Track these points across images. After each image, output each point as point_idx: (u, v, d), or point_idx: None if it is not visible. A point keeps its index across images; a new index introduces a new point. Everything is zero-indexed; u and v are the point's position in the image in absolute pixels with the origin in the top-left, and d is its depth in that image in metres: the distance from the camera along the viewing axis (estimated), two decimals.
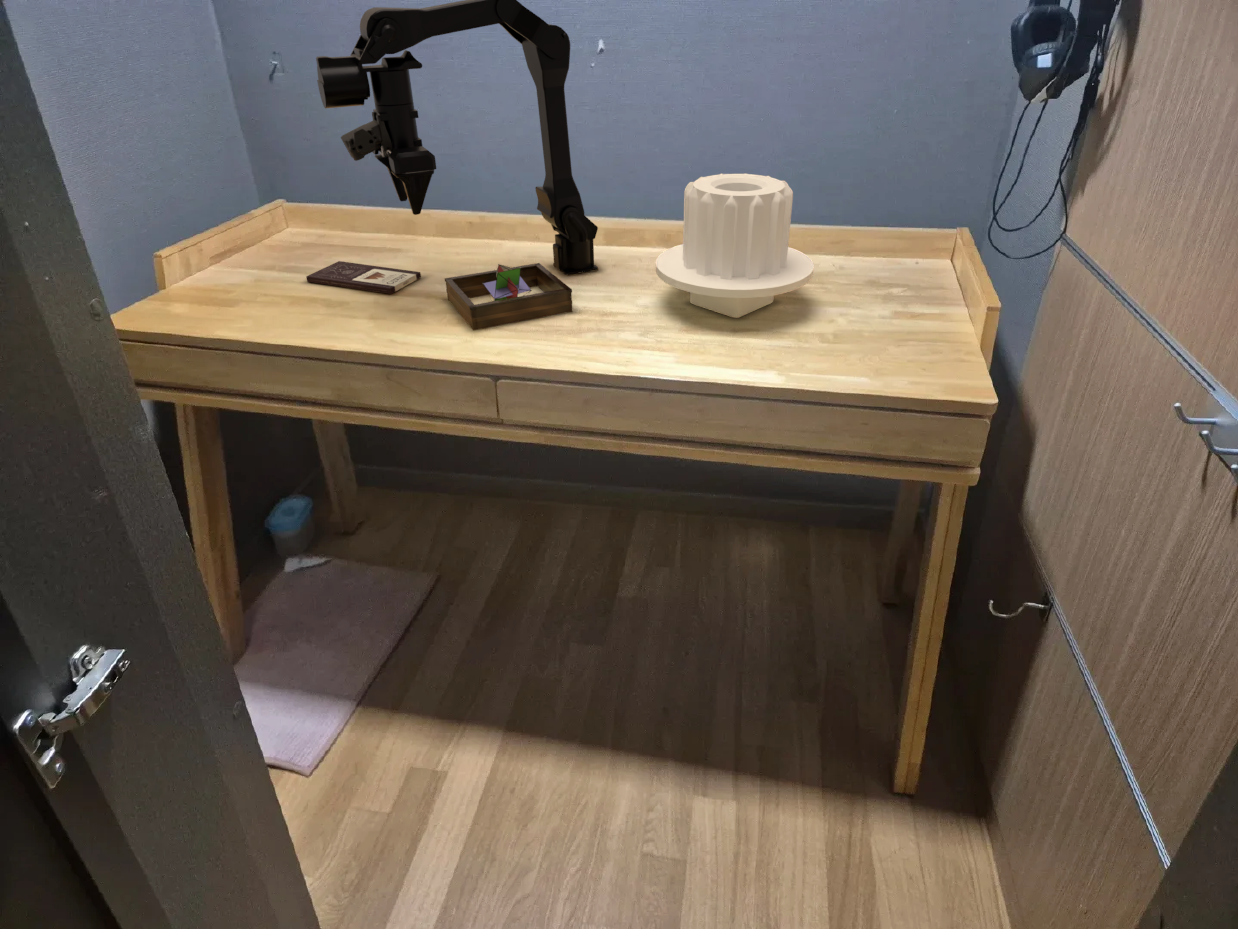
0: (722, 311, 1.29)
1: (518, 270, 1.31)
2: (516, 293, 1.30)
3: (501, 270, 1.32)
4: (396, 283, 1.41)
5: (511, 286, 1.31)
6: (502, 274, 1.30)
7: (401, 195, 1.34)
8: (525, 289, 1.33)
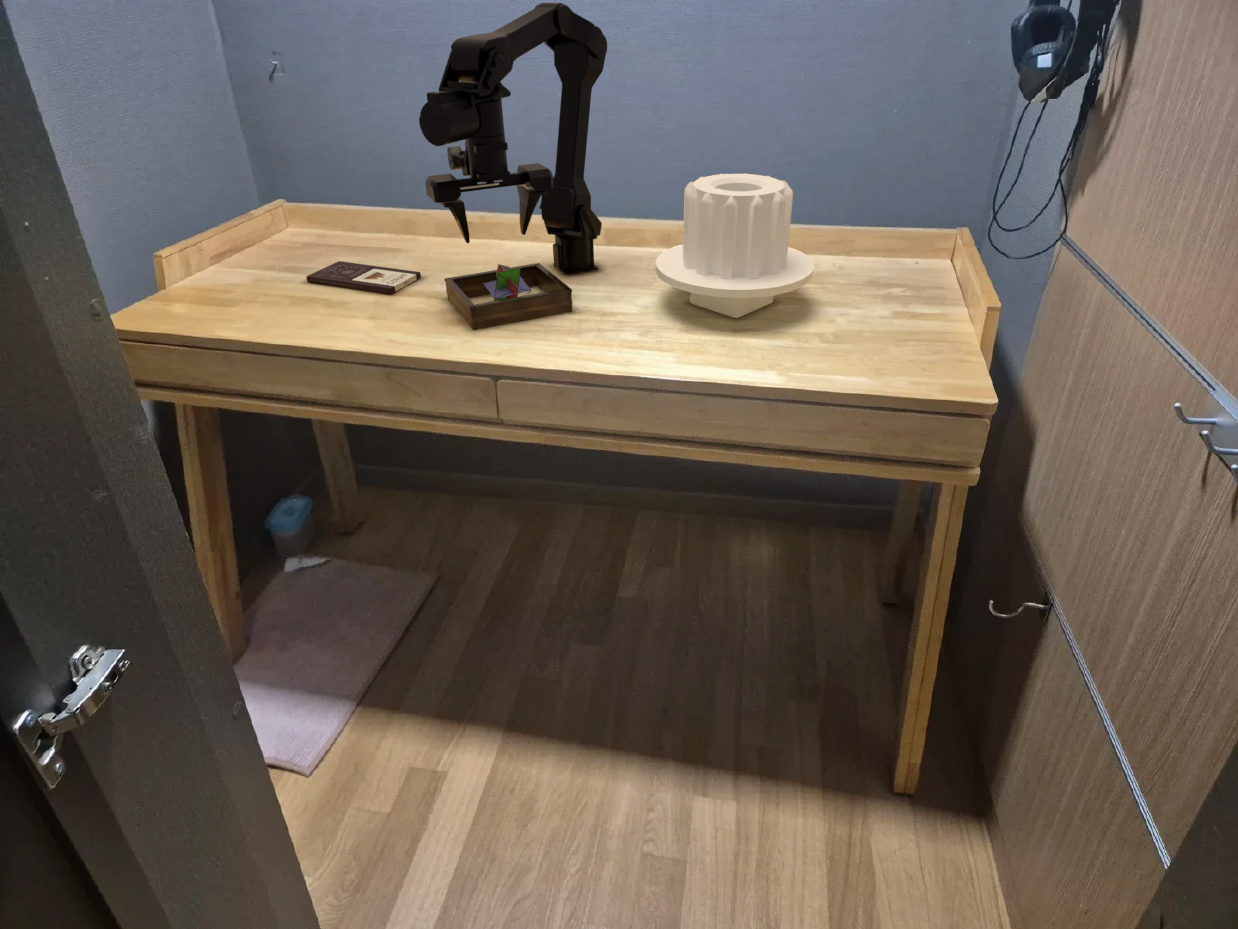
0: (722, 311, 1.29)
1: (518, 270, 1.31)
2: (516, 293, 1.30)
3: (501, 270, 1.32)
4: (396, 283, 1.41)
5: (511, 286, 1.31)
6: (502, 274, 1.30)
7: (521, 228, 1.30)
8: (525, 289, 1.33)
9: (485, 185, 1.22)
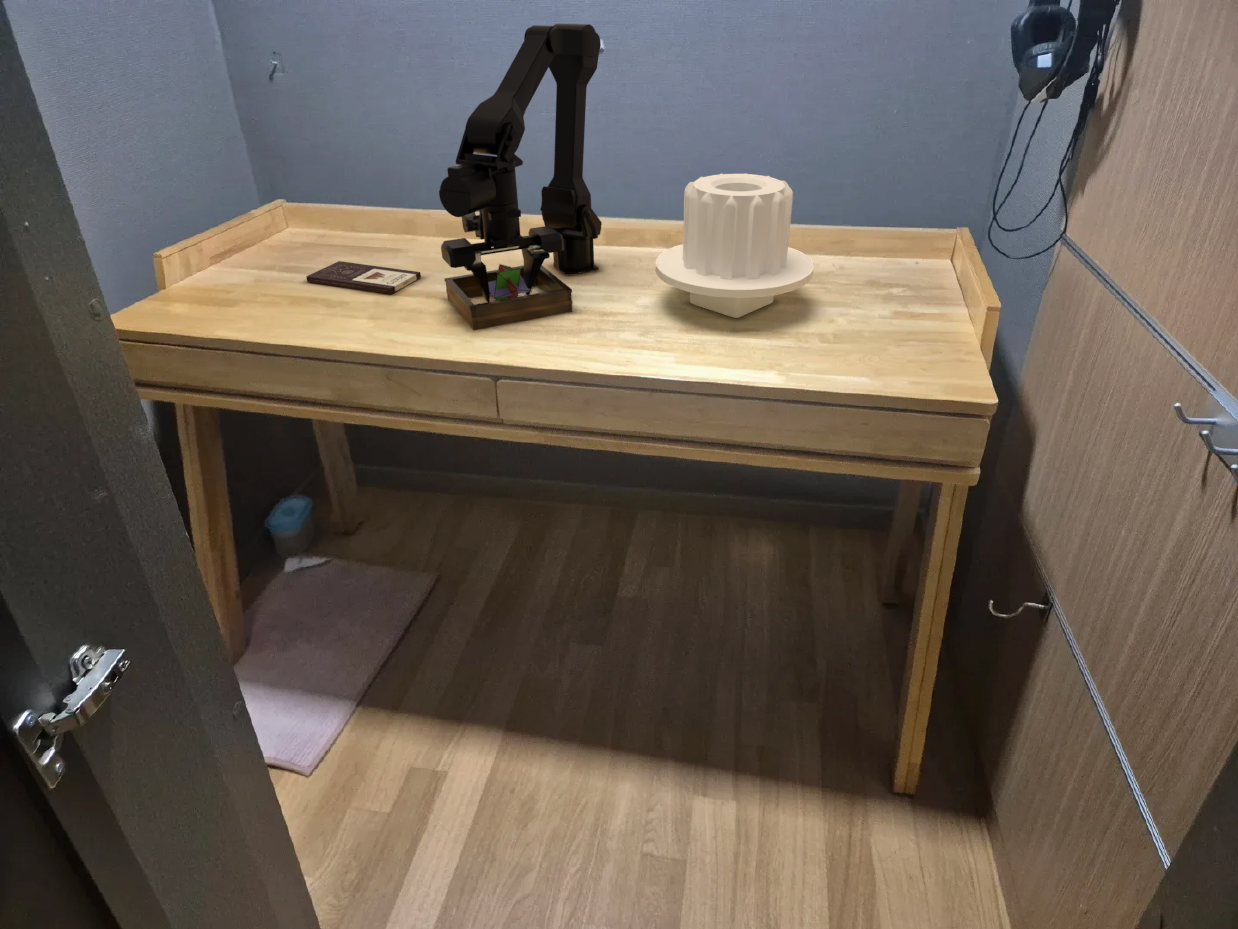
0: (722, 311, 1.29)
1: (519, 270, 1.31)
2: (516, 293, 1.30)
3: (502, 270, 1.32)
4: (396, 283, 1.41)
5: (511, 286, 1.31)
6: (503, 274, 1.30)
7: None
8: (525, 289, 1.33)
9: (499, 249, 1.27)
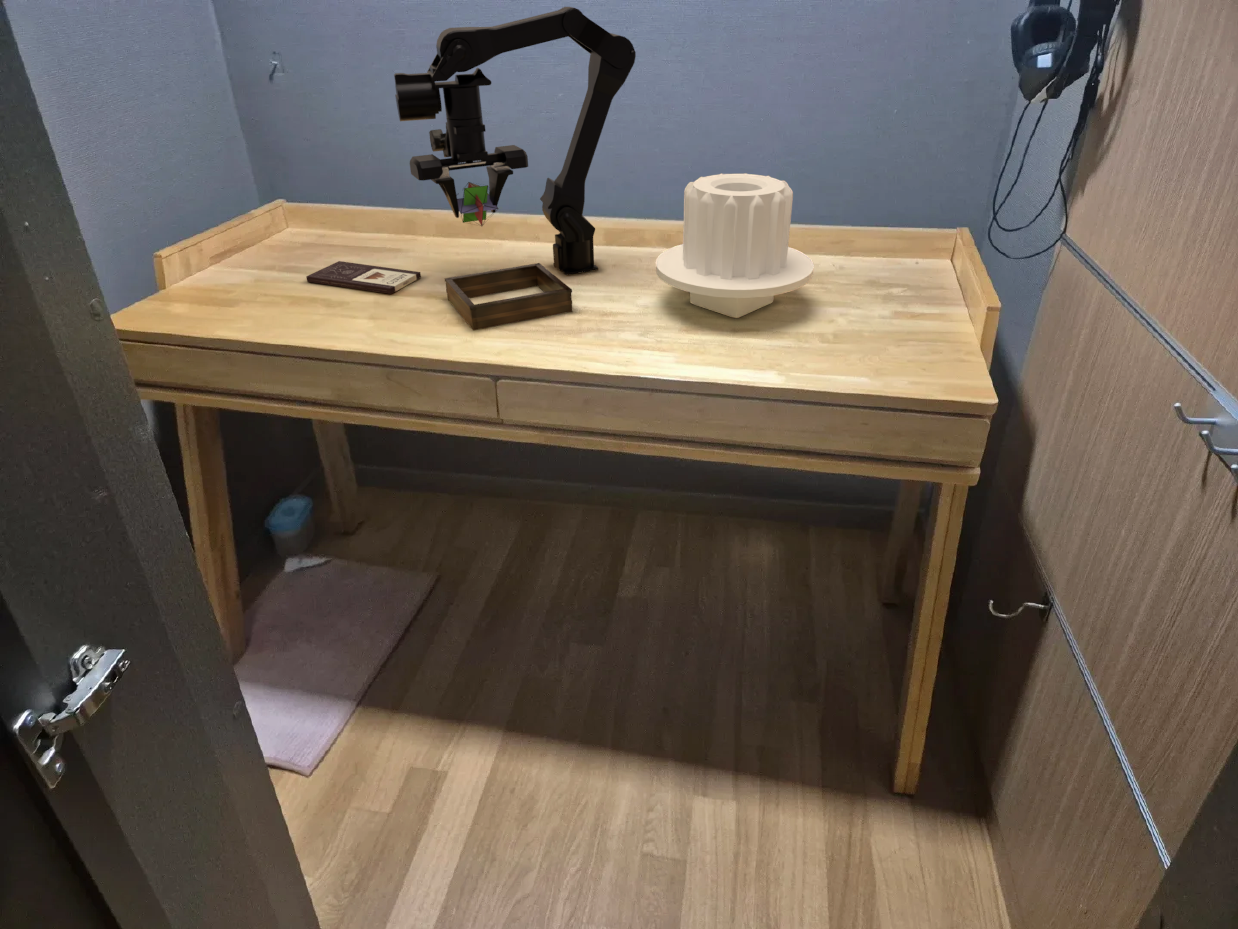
0: (722, 311, 1.29)
1: (486, 188, 1.36)
2: (482, 209, 1.36)
3: None
4: (396, 283, 1.41)
5: (478, 203, 1.36)
6: (470, 190, 1.35)
7: None
8: (492, 207, 1.38)
9: (465, 164, 1.33)
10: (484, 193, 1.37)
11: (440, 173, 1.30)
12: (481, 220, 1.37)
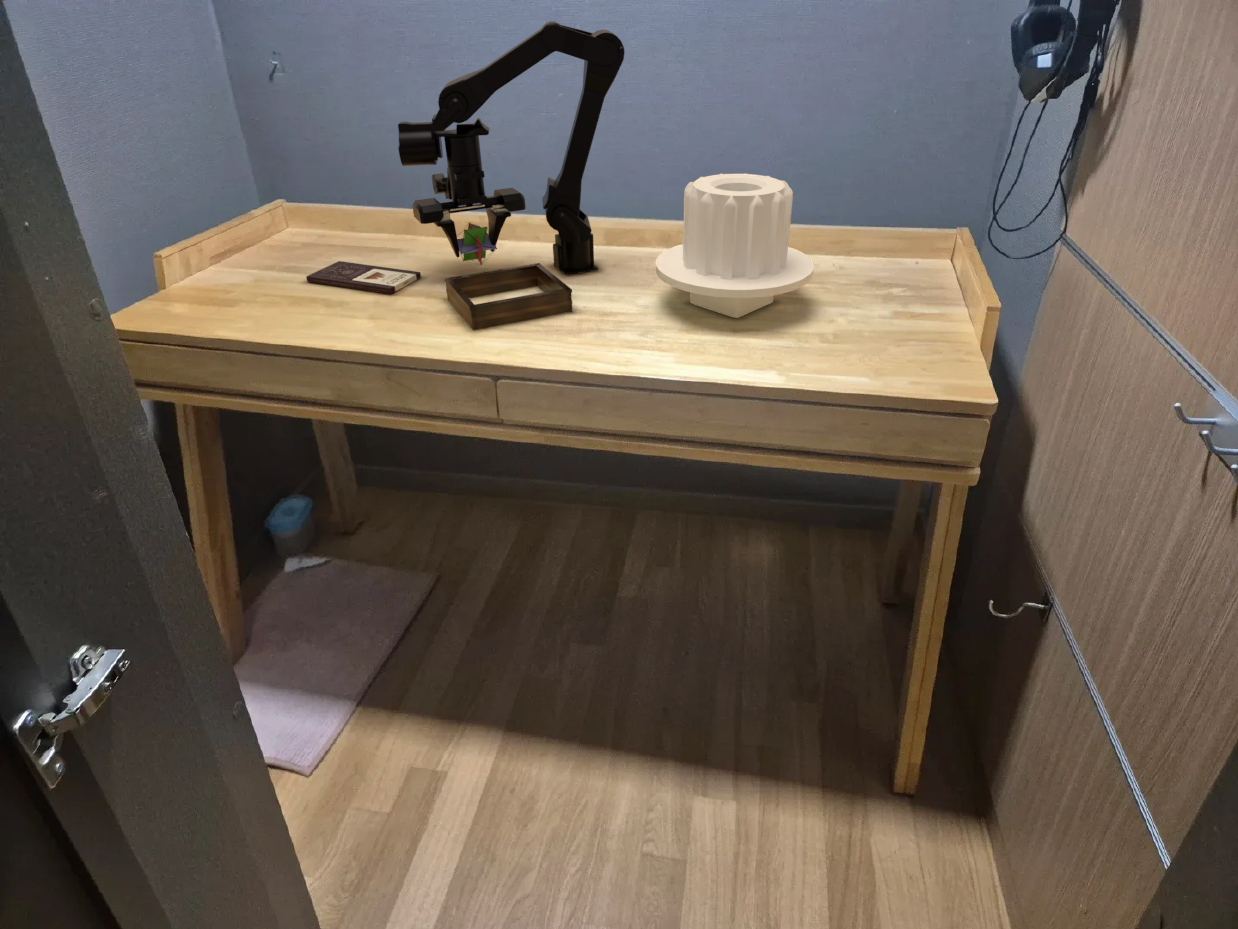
0: (722, 311, 1.29)
1: (485, 229, 1.43)
2: (481, 249, 1.42)
3: (470, 228, 1.45)
4: (396, 283, 1.41)
5: (477, 243, 1.43)
6: (469, 231, 1.42)
7: None
8: (491, 247, 1.45)
9: (465, 208, 1.39)
10: (483, 234, 1.44)
11: (441, 217, 1.37)
12: (480, 259, 1.44)
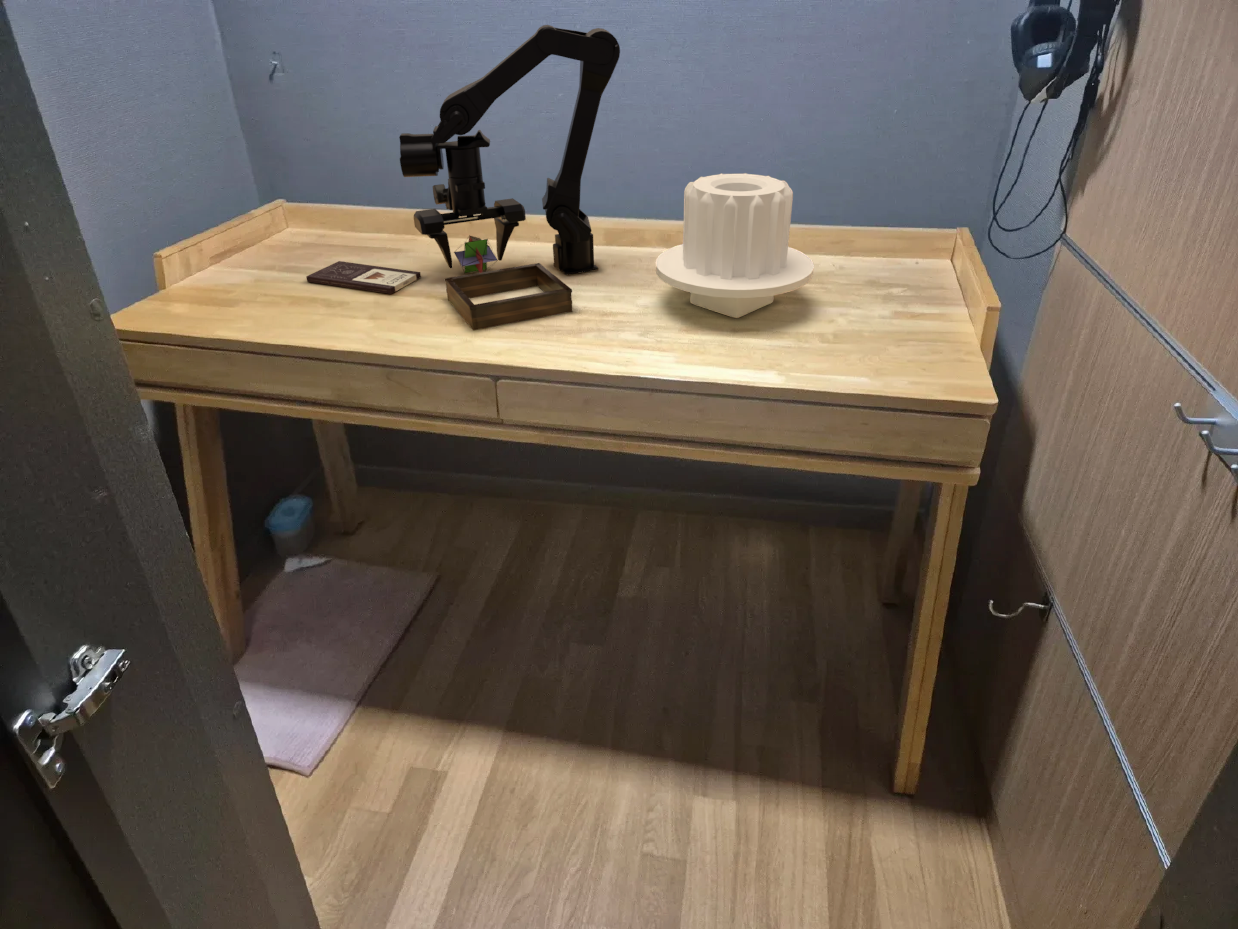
0: (722, 311, 1.29)
1: (485, 241, 1.44)
2: (482, 262, 1.44)
3: (471, 241, 1.46)
4: (396, 283, 1.41)
5: (478, 255, 1.44)
6: (470, 244, 1.43)
7: (497, 254, 1.48)
8: (492, 259, 1.46)
9: (465, 219, 1.40)
10: (484, 246, 1.45)
11: (442, 228, 1.38)
12: (481, 271, 1.45)
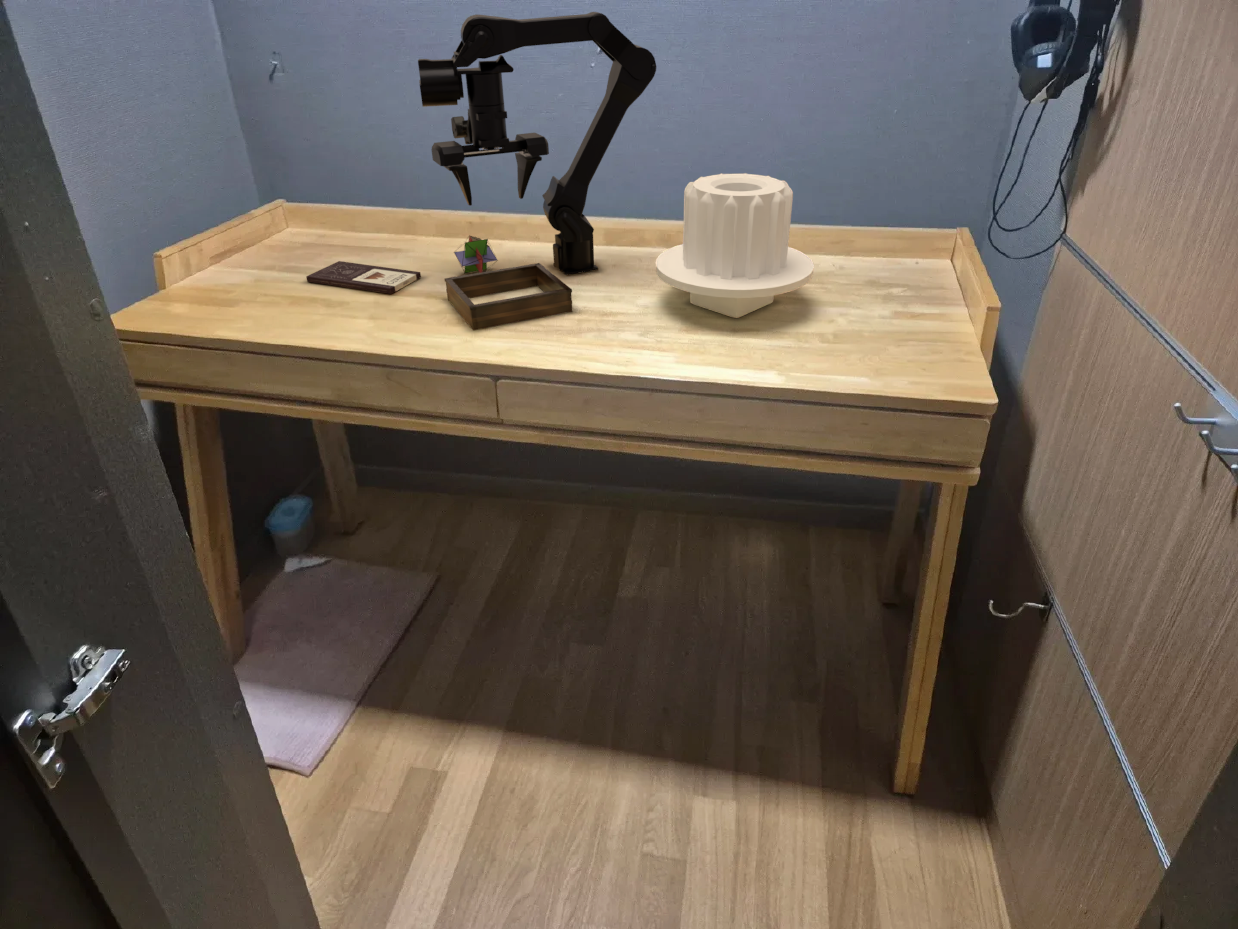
0: (722, 311, 1.29)
1: (485, 241, 1.44)
2: (482, 262, 1.44)
3: (471, 241, 1.46)
4: (396, 283, 1.41)
5: (478, 255, 1.44)
6: (470, 244, 1.43)
7: (518, 192, 1.41)
8: (492, 259, 1.46)
9: (486, 151, 1.33)
10: (484, 246, 1.45)
11: (462, 159, 1.31)
12: (481, 271, 1.45)
